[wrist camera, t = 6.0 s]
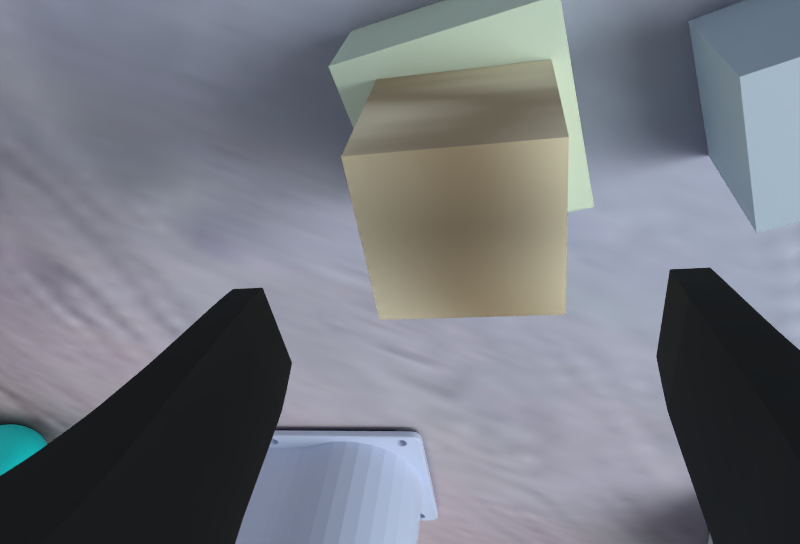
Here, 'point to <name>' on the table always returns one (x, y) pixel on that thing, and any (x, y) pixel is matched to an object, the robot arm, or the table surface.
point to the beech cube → (463, 192)
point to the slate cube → (753, 104)
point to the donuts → (17, 445)
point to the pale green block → (466, 57)
